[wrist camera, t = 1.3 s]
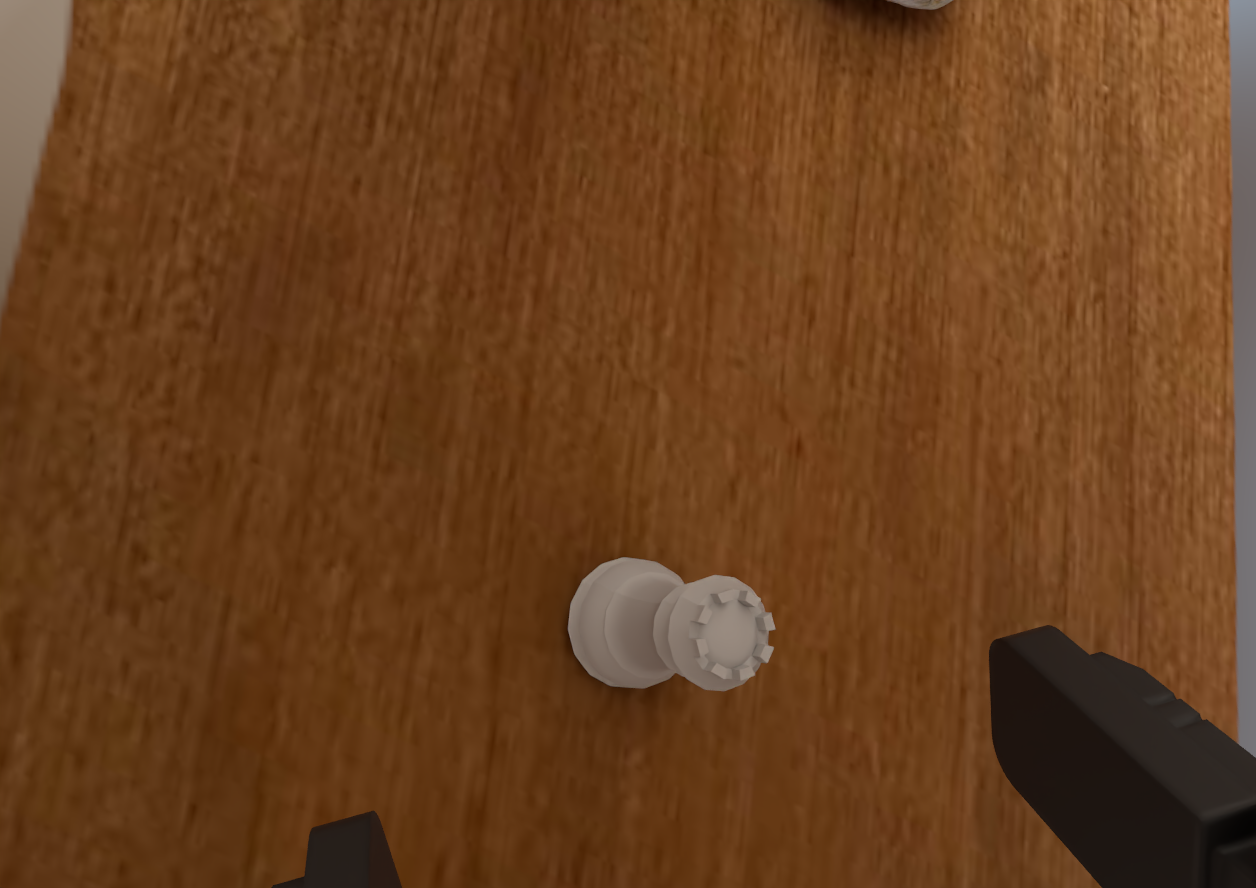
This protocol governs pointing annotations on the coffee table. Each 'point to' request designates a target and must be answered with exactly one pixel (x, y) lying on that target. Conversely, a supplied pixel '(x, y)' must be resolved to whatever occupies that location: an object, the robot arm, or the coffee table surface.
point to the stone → (922, 3)
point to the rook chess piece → (667, 627)
